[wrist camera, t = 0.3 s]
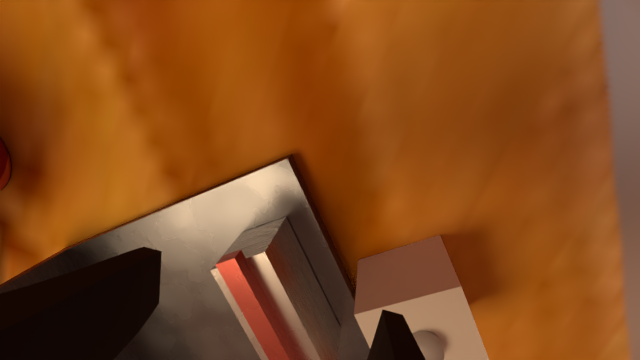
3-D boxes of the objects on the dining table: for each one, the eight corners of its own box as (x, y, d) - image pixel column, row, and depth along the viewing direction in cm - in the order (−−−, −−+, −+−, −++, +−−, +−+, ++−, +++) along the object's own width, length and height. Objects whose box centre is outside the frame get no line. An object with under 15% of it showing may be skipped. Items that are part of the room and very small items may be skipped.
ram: (344, 335, 21) (336, 407, 16) (301, 346, 22) (282, 418, 17) (282, 208, 19) (254, 251, 14) (237, 225, 20) (196, 270, 15)
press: (381, 347, 22) (384, 442, 17) (164, 398, 27) (108, 486, 21) (291, 154, 19) (257, 188, 13) (63, 248, 24) (-34, 304, 18)
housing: (466, 304, 20) (499, 385, 15) (387, 324, 22) (392, 405, 16) (439, 234, 19) (464, 294, 14) (358, 259, 21) (353, 323, 15)
